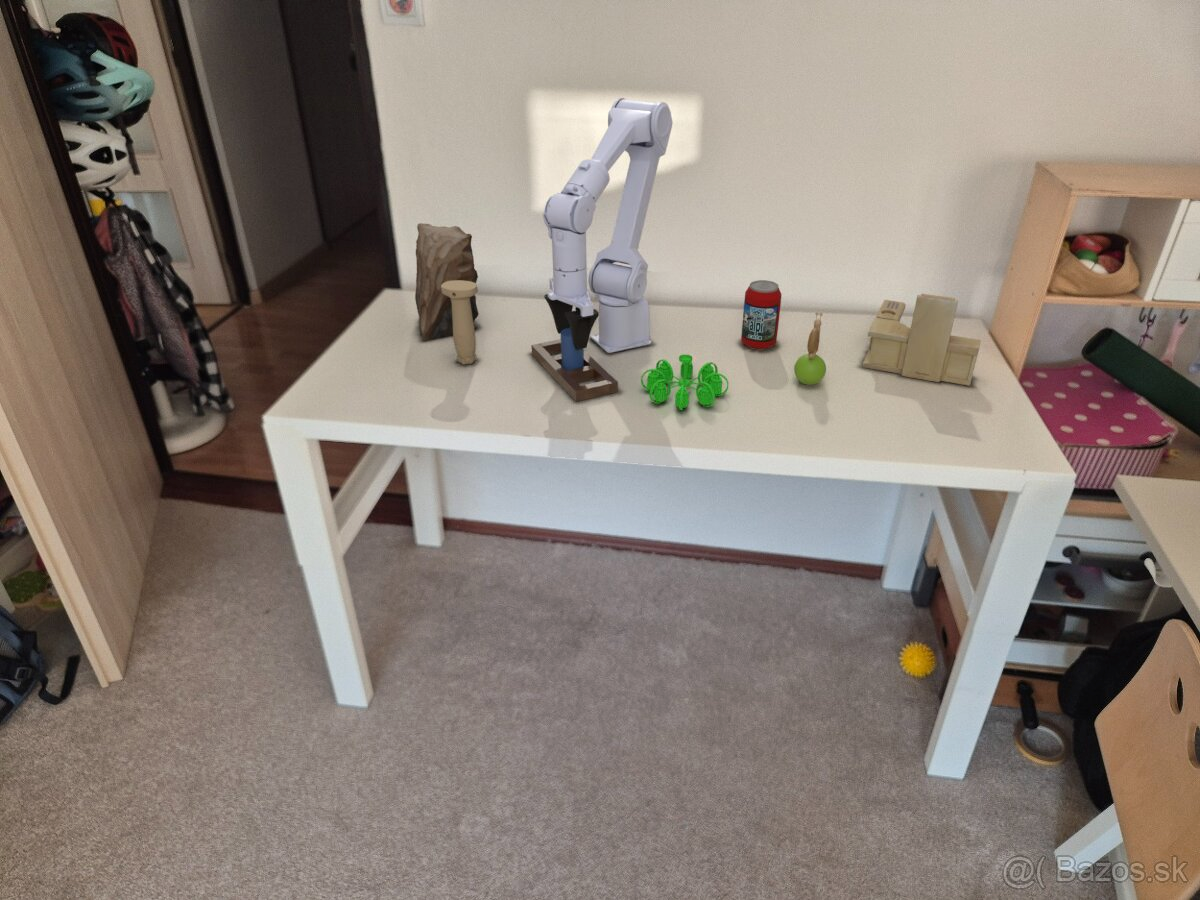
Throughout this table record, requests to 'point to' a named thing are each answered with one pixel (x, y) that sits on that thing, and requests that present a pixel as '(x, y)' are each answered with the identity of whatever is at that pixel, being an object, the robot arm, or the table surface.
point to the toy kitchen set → (921, 342)
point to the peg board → (575, 372)
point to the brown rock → (441, 276)
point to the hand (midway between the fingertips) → (571, 340)
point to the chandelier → (684, 382)
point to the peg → (570, 352)
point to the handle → (462, 318)
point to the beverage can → (761, 314)
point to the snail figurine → (811, 359)
